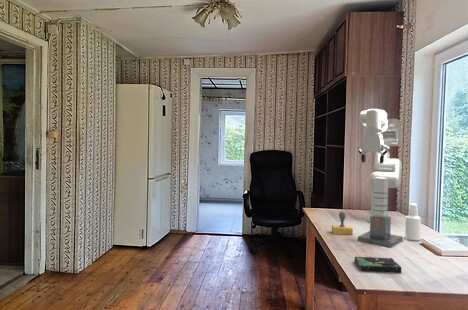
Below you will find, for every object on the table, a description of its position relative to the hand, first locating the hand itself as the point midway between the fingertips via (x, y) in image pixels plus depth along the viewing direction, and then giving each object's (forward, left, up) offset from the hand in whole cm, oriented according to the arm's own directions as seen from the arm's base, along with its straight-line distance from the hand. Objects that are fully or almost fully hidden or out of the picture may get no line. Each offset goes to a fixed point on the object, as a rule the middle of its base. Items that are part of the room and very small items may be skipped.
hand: (372, 162), depth 182 cm
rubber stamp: (+15, -10, -39) cm, 43 cm away
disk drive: (+53, +22, -39) cm, 70 cm away
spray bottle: (0, +21, -38) cm, 44 cm away
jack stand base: (+15, +10, -38) cm, 42 cm away
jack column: (+15, +10, -29) cm, 34 cm away
